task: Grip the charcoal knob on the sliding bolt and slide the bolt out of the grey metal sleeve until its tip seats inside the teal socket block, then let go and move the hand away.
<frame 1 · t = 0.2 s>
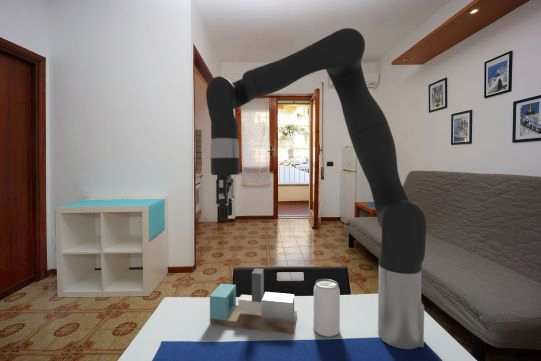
hand: (226, 218, 72), 28 cm above the table, tool pointing down, fingers open, 8 cm apart
sliding bolt: (265, 290, 72), point 8 cm above the table, slide at 0.0 cm
socket: (223, 317, 75), resting on board
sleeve: (278, 322, 72), resting on board
can: (326, 330, 69), on the table
board: (254, 320, 73), on the table
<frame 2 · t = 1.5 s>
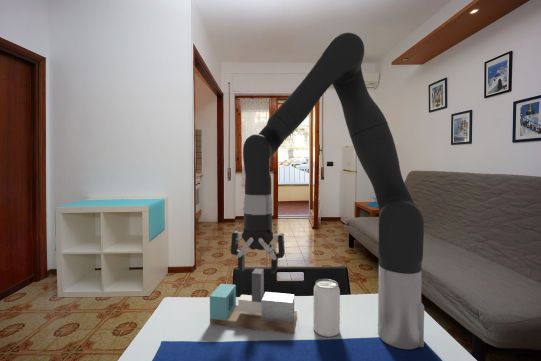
hand: (257, 271, 73), 13 cm above the table, tool pointing down, fingers open, 8 cm apart
nothing on the table moved.
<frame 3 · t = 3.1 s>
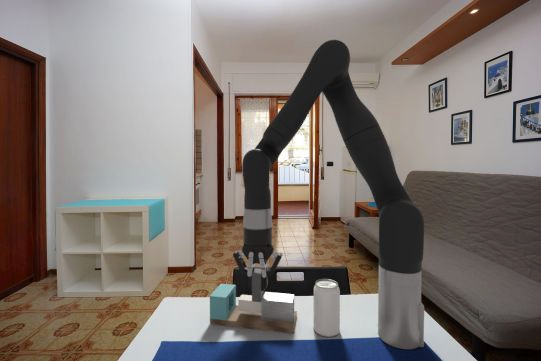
hand: (257, 289, 73), 9 cm above the table, tool pointing down, fingers closed on sliding bolt, 2 cm apart
sliding bolt: (265, 290, 72), point 8 cm above the table, slide at 0.0 cm, touching gripper
everything else where it was.
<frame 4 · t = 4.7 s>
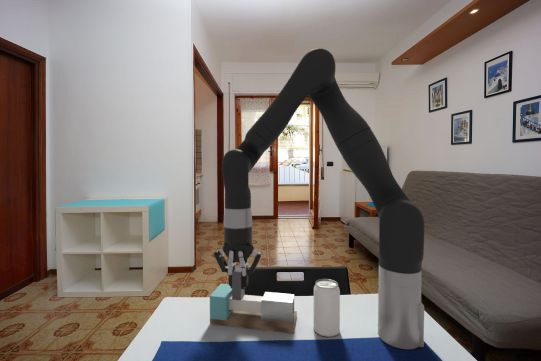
hand: (238, 287, 74), 9 cm above the table, tool pointing down, fingers closed on sliding bolt, 2 cm apart
sliding bolt: (245, 289, 73), point 8 cm above the table, slide at 5.4 cm, touching gripper
everything else where it was.
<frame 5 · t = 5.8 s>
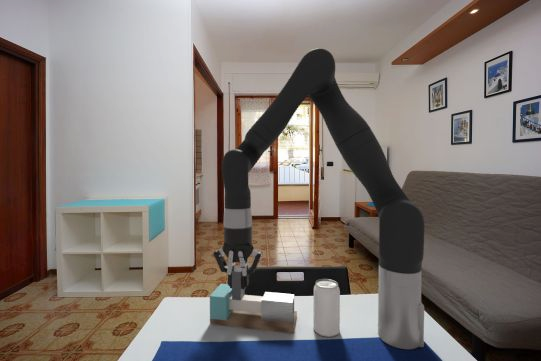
hand: (238, 287, 74), 9 cm above the table, tool pointing down, fingers open, 3 cm apart
sliding bolt: (245, 289, 73), point 8 cm above the table, slide at 5.4 cm
everything else where it was.
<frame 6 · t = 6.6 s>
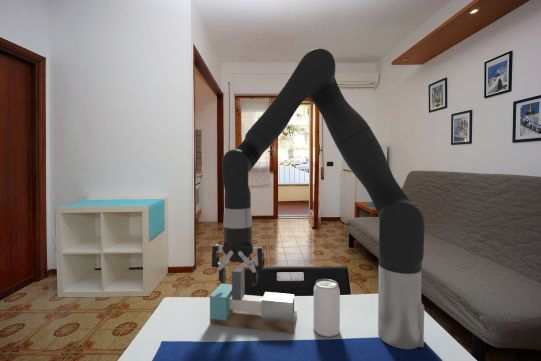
hand: (238, 283, 74), 10 cm above the table, tool pointing down, fingers open, 8 cm apart
nothing on the table moved.
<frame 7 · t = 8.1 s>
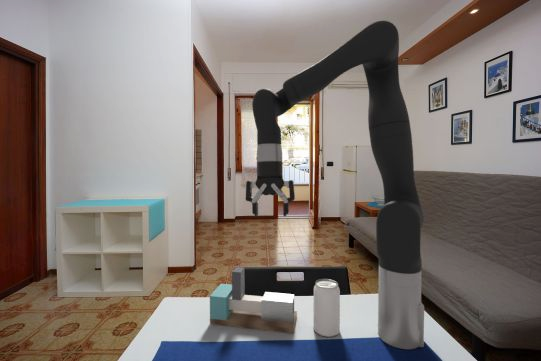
hand: (270, 215, 80), 27 cm above the table, tool pointing down, fingers open, 8 cm apart
nothing on the table moved.
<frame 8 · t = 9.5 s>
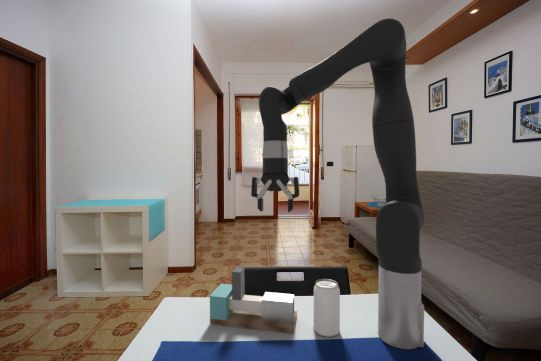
hand: (275, 211, 81), 28 cm above the table, tool pointing down, fingers open, 8 cm apart
nothing on the table moved.
at the end: sliding bolt slide at 5.4 cm; the gripper is holding nothing; can moved 0.2 cm from its start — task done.
